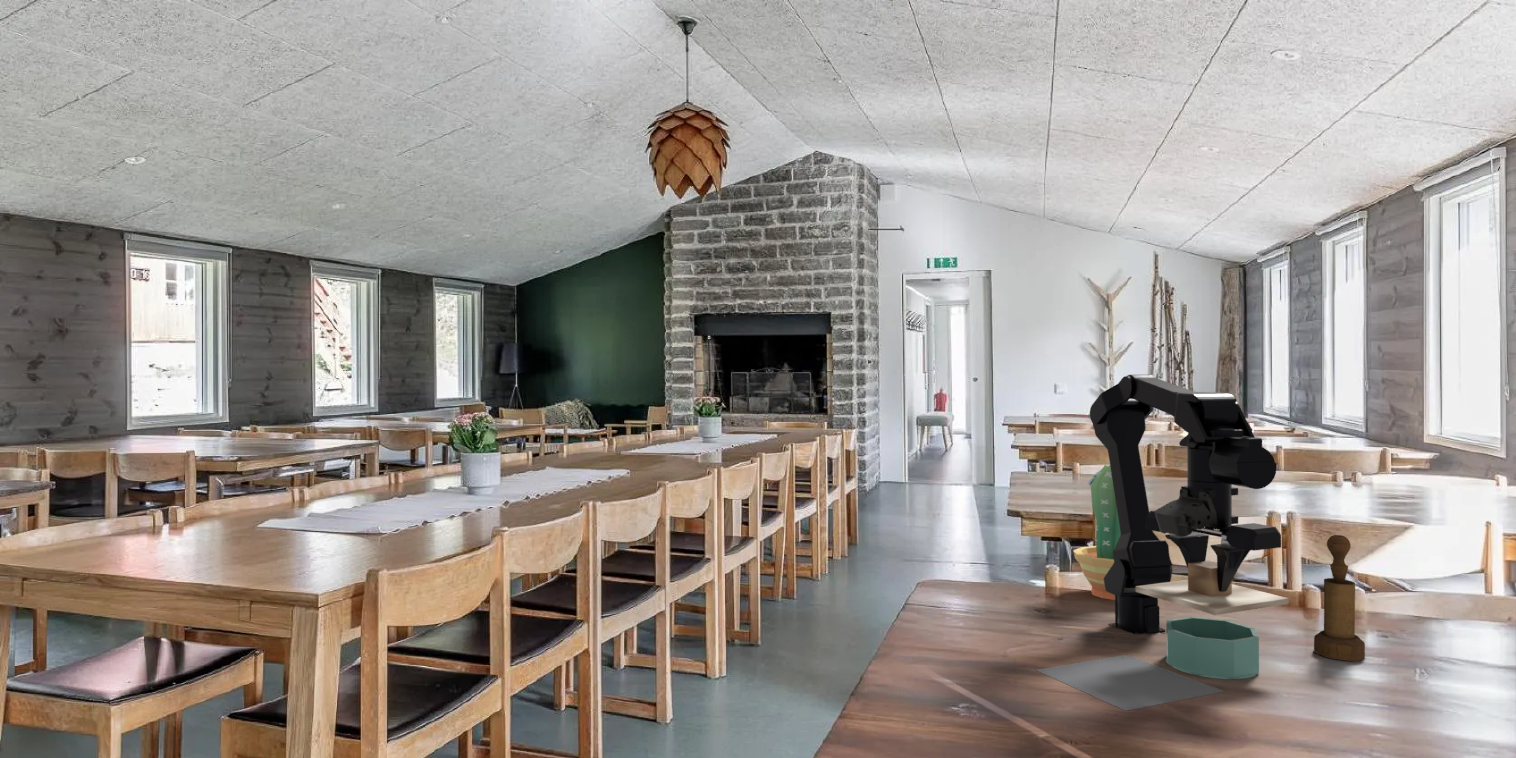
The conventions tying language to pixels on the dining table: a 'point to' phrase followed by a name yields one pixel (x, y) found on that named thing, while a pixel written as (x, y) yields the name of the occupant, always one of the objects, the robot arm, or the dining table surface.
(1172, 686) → the mat
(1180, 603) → the lid
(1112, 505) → the potted cactus
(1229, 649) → the bowl
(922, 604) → the dining table surface
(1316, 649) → the brown wooden upright piece
